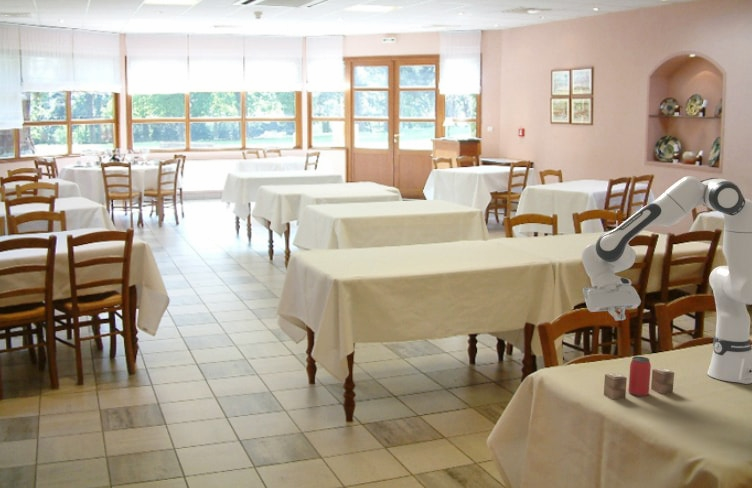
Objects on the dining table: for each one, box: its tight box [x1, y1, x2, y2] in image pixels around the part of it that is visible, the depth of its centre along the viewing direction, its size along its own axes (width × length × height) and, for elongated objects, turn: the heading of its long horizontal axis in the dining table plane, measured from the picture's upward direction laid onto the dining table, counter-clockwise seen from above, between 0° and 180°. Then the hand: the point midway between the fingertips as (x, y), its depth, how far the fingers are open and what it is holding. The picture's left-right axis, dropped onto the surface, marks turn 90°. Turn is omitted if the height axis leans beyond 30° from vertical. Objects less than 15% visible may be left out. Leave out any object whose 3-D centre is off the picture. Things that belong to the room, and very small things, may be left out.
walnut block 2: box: [650, 367, 675, 395], centre depth 301 cm, size 5×5×7 cm
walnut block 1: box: [603, 372, 628, 400], centre depth 294 cm, size 5×5×7 cm
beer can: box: [627, 356, 652, 397], centre depth 297 cm, size 7×7×12 cm
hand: (620, 319), depth 306 cm, fingers closed
